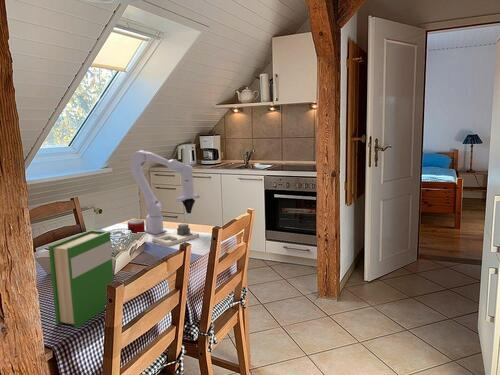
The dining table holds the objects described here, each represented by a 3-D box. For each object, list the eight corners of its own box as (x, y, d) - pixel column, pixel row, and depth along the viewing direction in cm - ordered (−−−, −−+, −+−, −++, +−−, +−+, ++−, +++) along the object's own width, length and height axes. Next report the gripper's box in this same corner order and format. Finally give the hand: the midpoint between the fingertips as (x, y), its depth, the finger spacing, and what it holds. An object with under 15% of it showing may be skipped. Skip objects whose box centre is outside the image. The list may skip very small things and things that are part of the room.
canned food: (147, 240, 201) (146, 219, 199) (141, 245, 193) (140, 223, 192) (132, 240, 202) (131, 218, 200) (126, 245, 194) (124, 222, 192)
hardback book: (76, 328, 117) (69, 248, 113) (56, 324, 119) (48, 246, 115) (115, 302, 133) (109, 231, 129) (96, 299, 135) (90, 229, 131)
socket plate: (152, 241, 200) (152, 237, 199) (183, 232, 214) (183, 228, 214) (167, 246, 192) (167, 241, 191) (199, 236, 207) (198, 232, 206)
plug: (177, 236, 206) (177, 225, 205) (184, 234, 210) (183, 223, 209) (183, 237, 204) (182, 226, 203) (190, 235, 207) (189, 224, 206)
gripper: (182, 190, 205) (183, 216, 208) (203, 186, 216) (204, 211, 219) (173, 189, 210) (174, 214, 212) (194, 185, 221) (195, 209, 223)
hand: (188, 213), depth 216 cm, fingers closed
